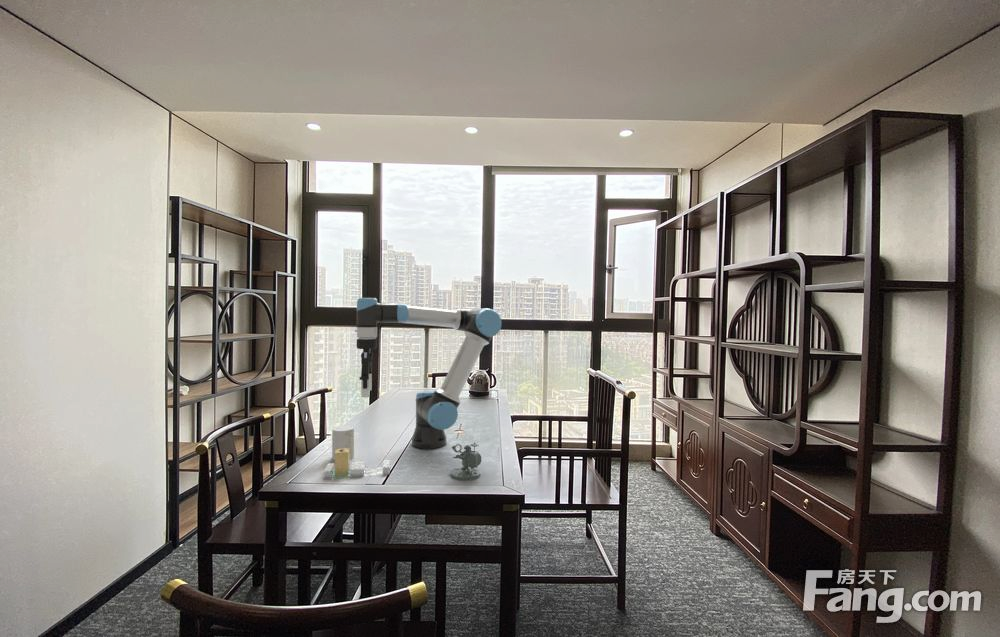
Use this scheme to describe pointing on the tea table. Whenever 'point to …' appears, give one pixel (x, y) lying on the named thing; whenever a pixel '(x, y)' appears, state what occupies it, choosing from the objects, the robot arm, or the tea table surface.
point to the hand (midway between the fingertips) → (366, 393)
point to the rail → (358, 470)
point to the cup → (343, 439)
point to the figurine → (467, 463)
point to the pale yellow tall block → (342, 461)
